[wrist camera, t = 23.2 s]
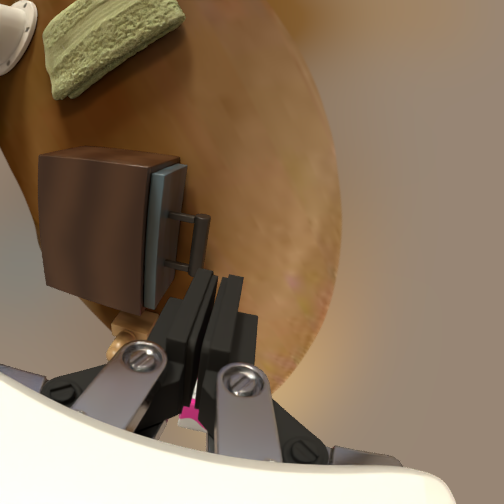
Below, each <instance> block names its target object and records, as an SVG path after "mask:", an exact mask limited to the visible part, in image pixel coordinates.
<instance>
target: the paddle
mask: <svg viewBox="0 0 504 504" xmlns="http://www.w3.org/2000/svg"><path fill="white" fill-rule="evenodd" d="M158 318H159V314H157V313H153V312H149V311H146V310H144V312H143V313H142V315H141V316H138V315H134V314H131V313H128V312H124V311H120V312H119V314H118V315H117V316H116V318H115V319H114V320H113V322H112V323H111V327H112V335H113V336H116V338H115V339H114V341H113V343H112V344H111V346H110V347H109V349H108V350H107V353H106V357H107V360H108V362H109V360H110V359H111V358H112V357H113V356H114V355H115V353H116V352H117V351H118V350H119V349H120V348H121V347H122V346H123V345H124V344H126V343H128V342H130V341H134V340H147V338H148V336H149V334H150V333H151V331H152V329H153V327H154V325H155V323H156V321H157V319H158Z"/></svg>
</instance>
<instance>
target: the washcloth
mask: <svg viewBox="0 0 504 504" xmlns="http://www.w3.org/2000/svg"><path fill="white" fill-rule="evenodd" d="M185 18H186V17H185V14H184V13H183V11H182V10H181V8H180V6H179V5H178V2H177V1H176V0H77V1H76V2H74V3H73V4H71V5H70V6H69V7H67V8H66V9H65V10H63V11H62V12H61V13H60V14H58V15H57V16H56V17H55V18H54V19H53V20H52V21H51V22H50V23H49V25H48V26H47V27H46V28H45V30H44V32H43V42H44V48H45V56H46V57H45V63H46V70H47V72H48V73H49V76H50V79H51V84H52V96H53V98H54V99H55V100H59V99H61V100H63V99H64V98H66V96H68V97H70V98H71V99H74V98H76V97H77V96H78V97H79V95H80V94H81V93H82V92H84V91H85V90H86V89H88V88H89V87H90V86H91V85H92V84H93V83H95V82H97V81H98V80H99V79H101V78H102V76H104V75H105V74H106V73H108V71H111V70H113V69H114V68H116V67H117V66H118V65H120V64H121V63H123V62H124V61H125V60H127V58H130V57H131V56H133V55H135V54H136V52H138V51H140V50H143V49H144V48H145V47H148V45H149V44H151V43H153V42H154V41H155V40H157V39H158V38H161V37H163V36H164V35H165V34H167V33H169V32H170V31H173V30H175V29H176V28H178V27H179V25H180V24H182V23H183V22H184V21H185Z"/></svg>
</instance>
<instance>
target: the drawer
mask: <svg viewBox="0 0 504 504" xmlns="http://www.w3.org/2000/svg"><path fill="white" fill-rule="evenodd" d="M186 173H187V165H183V164H175V165H172V166H169V167H167V168H164V169H162V170H159V171H157V172H154V173H152V174H150V181H149V191H148V201H147V213H146V226H145V243H144V265H143V285H144V307H146V308H150V309H154V310H155V308H156V307H157V305H158V303H159V302H160V300H161V299H162V297H163V295H164V294H165V292H166V290H167V289H168V287H169V286H170V284H171V282H172V281H173V279H174V274H175V269H177V270H181V271H186V272H188V274H189V275H190V276H191V277H194V276H195V274H196V272H197V270H198V268H201V269H203V267H204V260H205V253H206V246H207V240H208V233H209V227H210V220H211V217H210V216H209V215H206V214H197V215H196V216H194V215H189V214H184V213H181V209H182V201H183V193H184V186H185V179H186ZM180 221H184V222H189V223H194V230H193V238H192V246H191V254H190V262H189V264H186V263H181V262H177V261H176V253H177V243H178V234H179V225H180Z"/></svg>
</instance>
